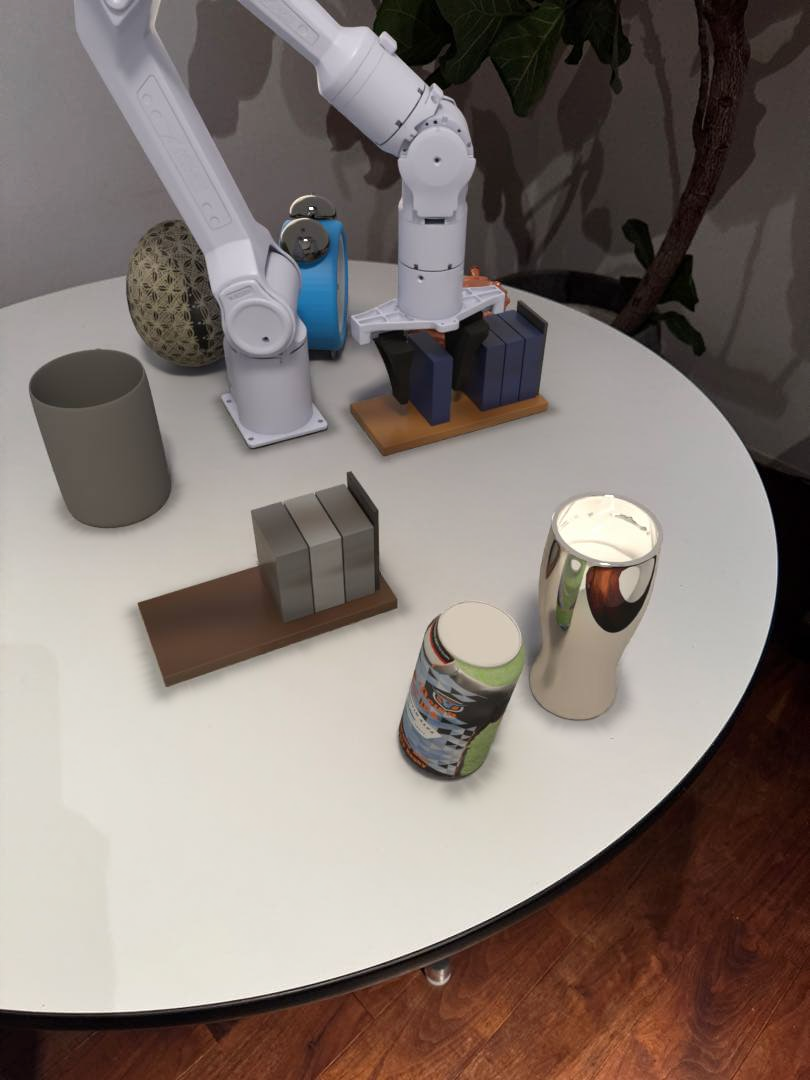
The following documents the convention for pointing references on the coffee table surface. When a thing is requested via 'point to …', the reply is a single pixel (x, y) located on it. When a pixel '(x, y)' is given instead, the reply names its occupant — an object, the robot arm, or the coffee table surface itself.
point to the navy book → (430, 378)
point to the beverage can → (461, 688)
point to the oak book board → (417, 428)
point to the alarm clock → (319, 270)
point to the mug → (101, 436)
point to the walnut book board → (234, 623)
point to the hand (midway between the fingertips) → (426, 392)
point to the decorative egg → (174, 297)
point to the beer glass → (592, 599)
